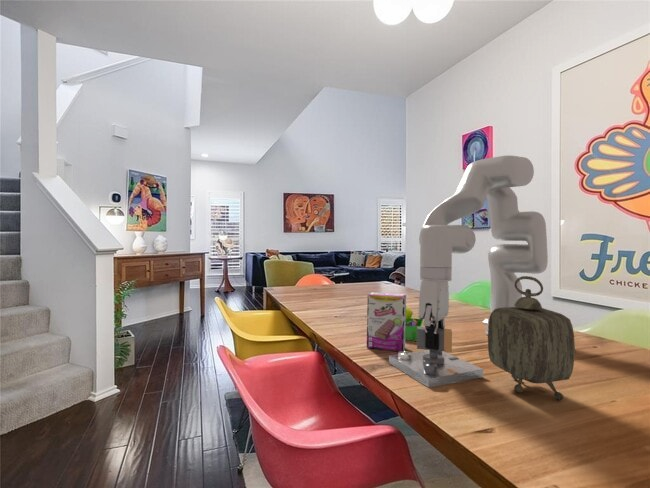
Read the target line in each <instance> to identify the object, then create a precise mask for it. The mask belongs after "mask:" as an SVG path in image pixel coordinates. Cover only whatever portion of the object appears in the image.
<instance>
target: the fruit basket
mask: <svg viewBox="0 0 650 488" xmlns="http://www.w3.org/2000/svg"><path fill="white" fill-rule="evenodd" d="M413 314H414V312H413V310H412V309H410V307H407V306H406V325H405V341H415V342H417V328H418V327H423V324H424V319H423V320H420V319H419V318H414V317H412V316H413Z"/></svg>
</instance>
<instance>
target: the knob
mask: <svg viewBox="0 0 650 488" xmlns="http://www.w3.org/2000/svg"><path fill="white" fill-rule="evenodd" d="M437 334H439V349H438V350H433V349H428V348H426V347H425V326H422V327H418V328H417V341H416V349H417V350H419V349H420V350H424V351H425V350H430V352H429V354H426V355H423V361H424V362H432V363H435V364H437V365H439V364H443V363H444V361H445V359H444V357H442V356H440V355H438V351H444V352H446V353H453V352H452V351H453V349H452V348H453V347H452V346H453V329H451V328H444V329H440V328H438V333H437Z"/></svg>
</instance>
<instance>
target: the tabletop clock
mask: <svg viewBox="0 0 650 488" xmlns="http://www.w3.org/2000/svg"><path fill="white" fill-rule="evenodd" d="M517 278H518V279H517V280H516V281H515V288H516V290H517V291H518V292H519V293H521V294H522V297H521V298H519V299H518V300H517V301H516V303H515V305H514V306H516V307H506V308H497V309H494V311H493V312H492V313H491V315H490V314H489V318H488V319H489V325H487V329H488V335H487V349H488V357H489V361H490V362H491V363H492V364H493V365H494V366H496V367H497V368H500V369H501V370H503V371H505V372H506V373H509V374H510V375H511V378H512V379H513V380H518V383H517V384H514V390H515V392H517V393H522V392H523V390H524V388H523V386H522V382H523V381H525V382H528V383H532V384H546V385H548V386H549V388H550V389H551V390H552V392H553V398H554V399H555V400H557V401H562V400H563V399H564V395H563V393H562V392H560V391H557V389H556V387H555V385H554V383H553V382H560V381H567V380H570V378H571V376H572V375H573V370H574V365H575V357H576V346H575V345H576V344H575V343H576V342H575V333H574V328H573V324H572V321H571V319H570V318H569V317H567V316H565V315H564V314H562V313H561V312H560V313H559V312H557V311H554V310H551V309H546V308H543V306H542V304H541V302H540V300H538V299H537V298H535V297H537V296H540V295H541V294H542V293H543V292H544V286H543V283H542V282H541V281H540V280H539V279H537V278H536V277H534V276H528V275H522V276H519V277H517ZM522 280H530V281H534V282H535V283H537V284H538V285H539V287H540V290H539V291H538V292H534V293H532V290H531V289H529V288H526V289H525V291H523V290H522V291H521V290H520V289H518V287H517V283H518V281H520V282H521V281H522Z"/></svg>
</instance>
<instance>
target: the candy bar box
mask: <svg viewBox="0 0 650 488" xmlns="http://www.w3.org/2000/svg"><path fill="white" fill-rule="evenodd" d="M406 307H407V294H403V293H402V294H401V293H388V292H376V291H375V292H373V291H371V292H370V293H368V294H367V313H366V314H367V316H366V322H367V323H366V348H367V349H377V350H384V351H390V352H391V351H393V352H400V351H405V348H406V340H405V325H406Z"/></svg>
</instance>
